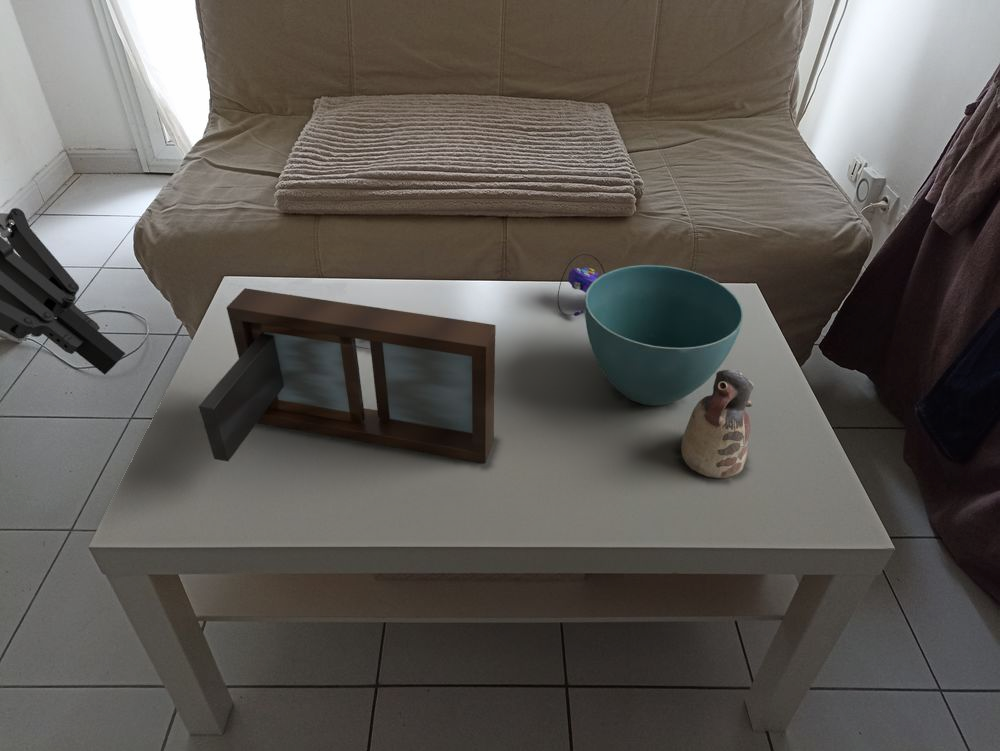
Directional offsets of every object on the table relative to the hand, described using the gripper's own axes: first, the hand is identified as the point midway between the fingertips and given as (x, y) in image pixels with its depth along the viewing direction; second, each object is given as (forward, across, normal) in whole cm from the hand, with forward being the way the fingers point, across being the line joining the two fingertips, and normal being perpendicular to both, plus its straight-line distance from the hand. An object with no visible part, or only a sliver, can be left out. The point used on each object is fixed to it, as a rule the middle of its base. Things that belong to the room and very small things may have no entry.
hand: (114, 363), depth 74 cm
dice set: (+22, -30, +2) cm, 37 cm away
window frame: (+25, -11, +6) cm, 28 cm away
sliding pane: (+19, -4, +2) cm, 20 cm away
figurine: (+52, -16, +33) cm, 64 cm away
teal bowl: (+47, -27, +27) cm, 61 cm away
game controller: (+41, -43, +21) cm, 63 cm away
